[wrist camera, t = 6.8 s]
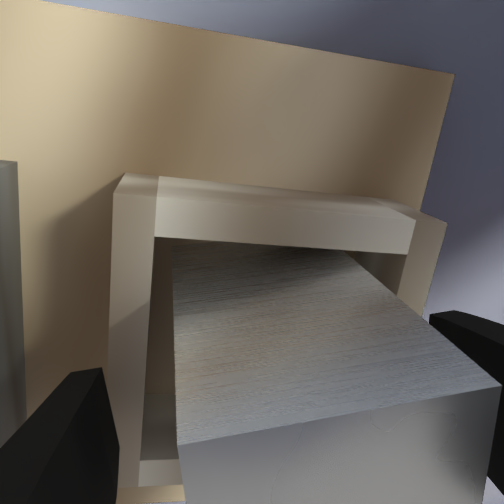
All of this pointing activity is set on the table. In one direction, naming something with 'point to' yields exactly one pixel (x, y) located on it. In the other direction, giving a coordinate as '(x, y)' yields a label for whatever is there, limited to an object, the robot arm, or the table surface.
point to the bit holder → (184, 194)
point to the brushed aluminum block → (318, 385)
